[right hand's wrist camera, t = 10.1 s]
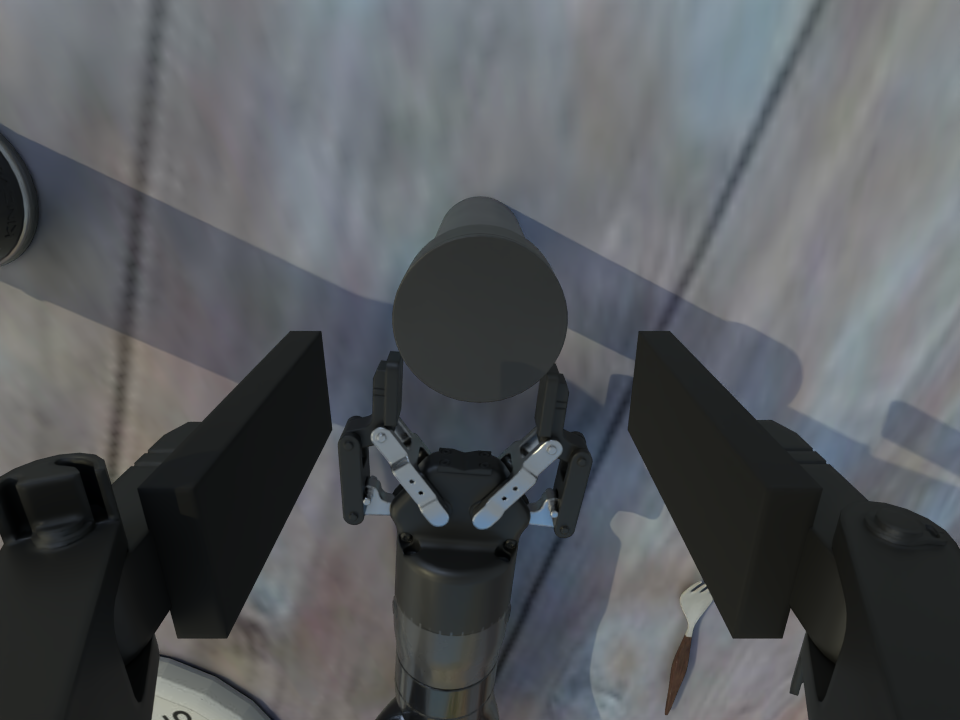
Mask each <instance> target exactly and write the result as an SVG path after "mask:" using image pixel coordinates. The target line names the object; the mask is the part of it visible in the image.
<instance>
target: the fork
mask: <svg viewBox="0 0 960 720" xmlns="http://www.w3.org/2000/svg"><path fill="white" fill-rule="evenodd" d="M701 583H702V581H698V582H697V583H695V584H693V585H692V586H690V587H689V588H688V589H687V590H685V591H684V592H683V593H682V595H681V596H680V605H681V608H682V610H683V612H684V614H685V616H686V618H687V621H688V628H687V631H686V633H685V636H684V638H683V640H682V642H681V644H680V647H679V649H678V651H677V653H676V655H675V658H674V661H673V664H672V668H671V674H670V683H669V690H668V696H667V701H666V708H665V715H668V713H669V711H670V709H671V707H672V704H673V702H674V700H675V697H676V695H677V692H678V690H679V688H680V685H681V683H682V681H683V678H684V676H685V673H686V670H687V666H688V661H689V654H690V646H691V638H692V632H693V628H694V626H695V624H696V622H697V621H698V619H699V618H700V617H701V615H702V614H703V613H704V611H705V610H706V609H707V608H708V606H709V605H710V604H711V602H712V601H713V598H712V596H711V594H710V593H709V590H708V588H707V589H706V590H705V591H703V592H700V591H701V590H702V589H703V588H705V587H706V584H704V585H702V586H700V587H699V588H697V589H696V590H695V591H692V592H691V590H692V589H694V588H695V587H696V586H697V585H699V584H701Z"/></svg>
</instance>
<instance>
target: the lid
mask: <svg viewBox="0 0 960 720" xmlns="http://www.w3.org/2000/svg"><path fill="white" fill-rule="evenodd" d="M392 324H393V332H394V337H395V341H396V344H397V347H398V349H399V352H400V354H401V356H402V358H403V359H404V361H405V363H406V364H407V366H408V367H409V368H410V370H411V371H412V372H413V373H414V374H415V375H416V376H417V377H418V378H419V379H420V380H421V381H422V382H423V383H425V384H426V385H427V386H429V387H430V388H432V389H433V390H435V391H437V392H438V393H441V394H443V395H445V396H447V397H450V398H454V399H457V400H461V401H467V402H479V403H481V402H493V401H499V400H503V399H506V398H510V397H513V396H515V395H517V394H519V393H522V392H523V391H525V390H527V389H528V388H530V387H532V386H533V385H534V384H535V383H537V382H538V381H539V380H540V379H541V378H542V377H543V376H544V375H545V374H546V373H547V372H548V371H549V370H550V368H551V367H552V366H553V364H554V363H555V361H556V359H557V358H558V356H559V354H560V352H561V349H562V347H563V344H564V341H565V337H566V332H567V324H568V314H567V306H566V300H565V297H564V294H563V290H562V288H561V286H560V284H559V282H558V280H557V278H556V276H555V274H554V272H553V270H552V268H551V267H550V265H549V263H548V262H547V260H546V258H545V257H544V256H543V254H542V253H541V252H540V251H539V250H538V248H536V247H535V246H534V245H533V244H532V243H531V242H530V241H528V240H527V239H526V238H524V237H523V236H521V235H519V234H517V233H515V232H513V231H511V230H508V229H505V228H502V227H498V226H493V225H484V224H476V225H467V226H462V227H457V228H455V229H452V230H449V231H447V232H445V233H443V234H441V235H439V236H437V237H436V238H434V239H433V240H432V241H430V242H429V243H428V244H427V245H426V246H425V247H424V248H422V250H421V251H420V252H419V253H418V254H417V256H416V257H415V258H414V260H413V262H412V263H411V265H410V267H409V268H408V270H407V272H406V274H405V276H404V278H403V280H402V282H401V284H400V286H399V288H398V290H397V294H396V297H395V300H394V306H393V313H392Z"/></svg>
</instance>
